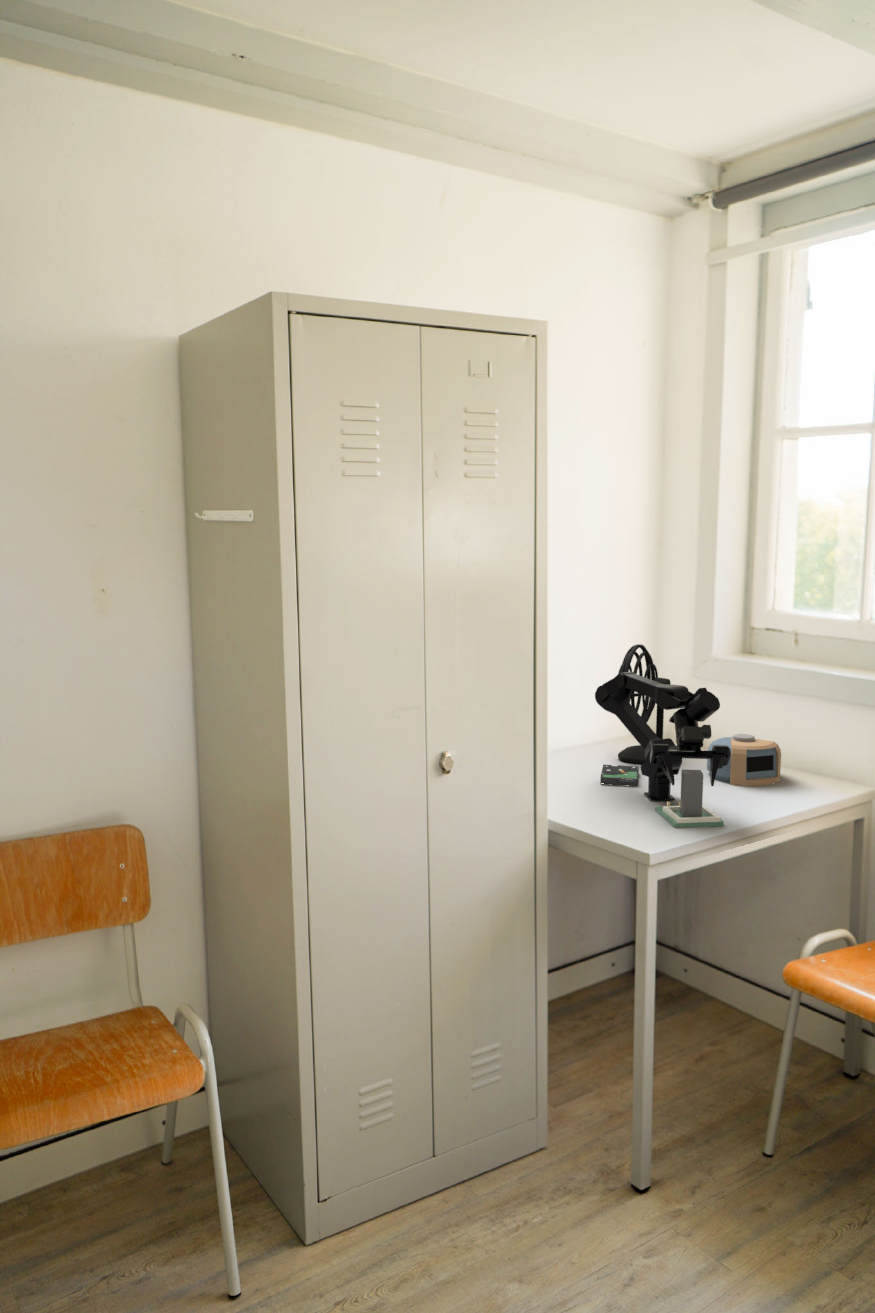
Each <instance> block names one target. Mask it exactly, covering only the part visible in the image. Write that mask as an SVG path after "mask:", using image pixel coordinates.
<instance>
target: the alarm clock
mask: <svg viewBox="0 0 875 1313" xmlns="http://www.w3.org/2000/svg"><path fill="white" fill-rule="evenodd" d="M713 745H727V746H728V747H729V748H730V751H731V756H730V759H729V762H728V765H726V766H723V767H722V768H721V769H718V770H717V773H716V777H715V780H717V779H718V781H721V782H724V781H725V783H729V785H730V786H731V785H732V786H742V787H762V786H761V785H767V786H772V785H771V784H773V783H776V784H778V783H777V782H778V781H780V780H781V766H782V765H781V763H782V752H781V750H782V749H781V748H780V746H779V744H778V743H776V742H775V741H774V740H765V739H758V738H755V735H752V734H747V733H736V734H733V736H728V737H721V738H716V740H713V741H712V742H711V743H710V744H709V746H708V750H707V751H712V747H713ZM710 765H711V763H710V759H706V770H707V771H708V772H709V773H710ZM779 779H780V780H779ZM773 785H774V784H773Z"/></svg>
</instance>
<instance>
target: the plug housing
mask: <svg viewBox="0 0 875 1313" xmlns="http://www.w3.org/2000/svg"><path fill="white" fill-rule="evenodd" d="M680 775H681V778H680V779H681V780H680V801H681V802H680V814H681V816H682V818H686V817H702V805H703V798H704V796H703V795H704V794H703V793H704V790H703V789H704V773H703V772H702V770H701V769H684V768H683V769H681V774H680Z"/></svg>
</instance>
